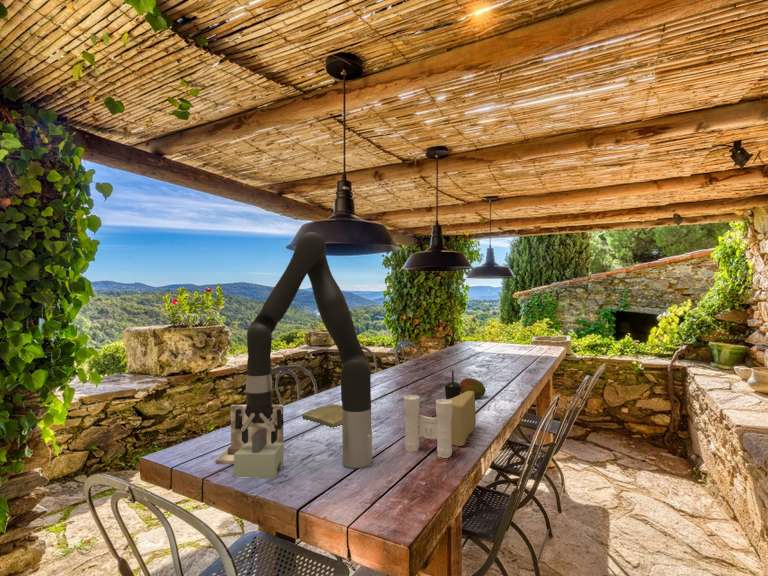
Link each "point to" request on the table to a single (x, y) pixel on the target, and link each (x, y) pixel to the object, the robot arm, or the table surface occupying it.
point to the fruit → (473, 387)
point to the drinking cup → (452, 388)
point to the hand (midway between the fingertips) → (259, 442)
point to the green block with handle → (259, 457)
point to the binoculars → (428, 425)
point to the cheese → (462, 417)
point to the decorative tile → (325, 415)
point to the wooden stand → (252, 428)
